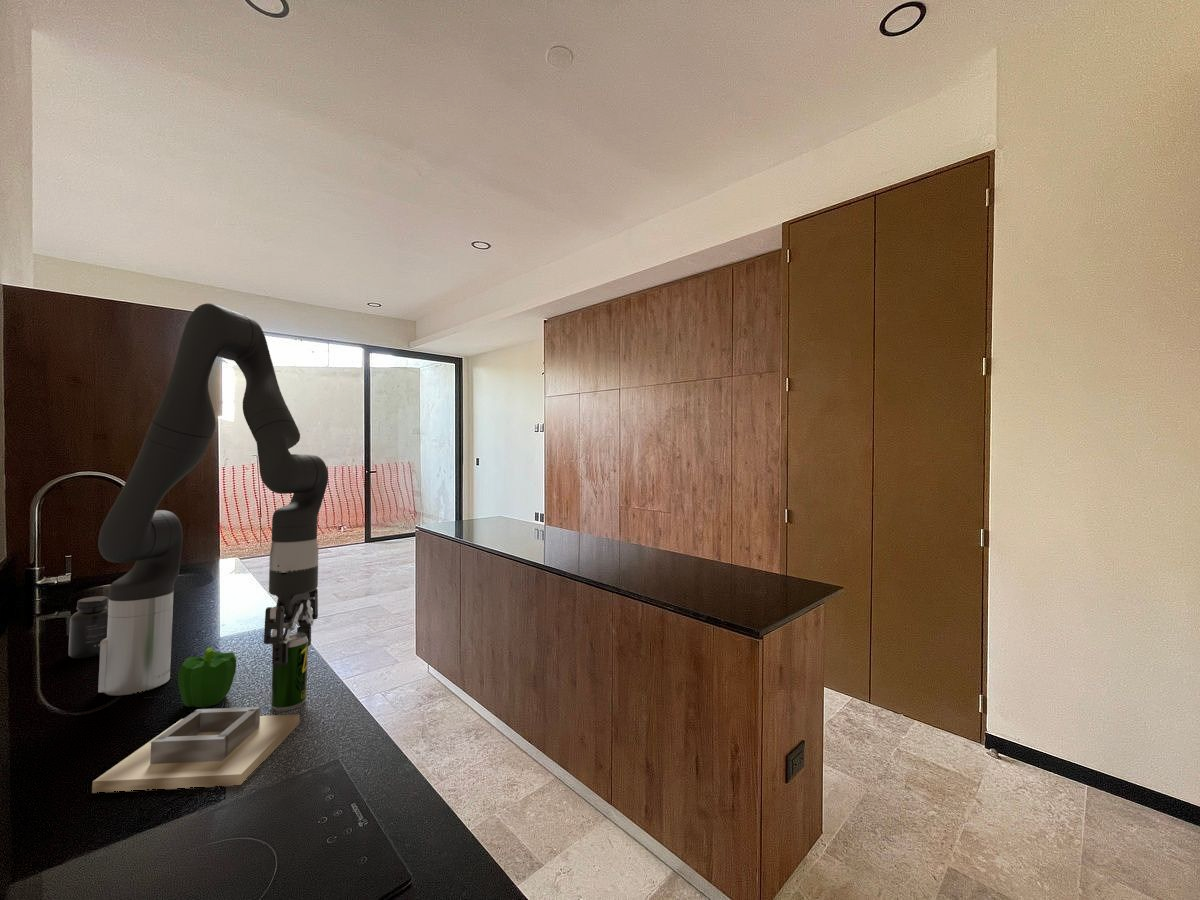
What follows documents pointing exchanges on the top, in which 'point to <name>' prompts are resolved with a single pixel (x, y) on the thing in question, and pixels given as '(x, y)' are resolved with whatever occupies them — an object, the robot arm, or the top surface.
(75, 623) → the supplement bottle
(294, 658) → the beer can
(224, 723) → the collar board
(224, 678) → the bell pepper
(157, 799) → the top surface
